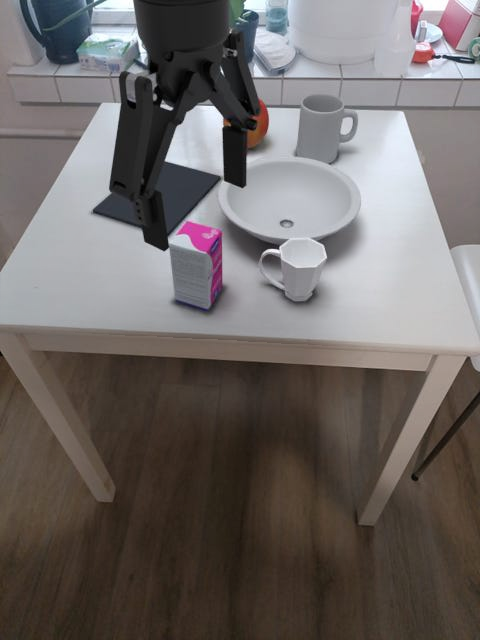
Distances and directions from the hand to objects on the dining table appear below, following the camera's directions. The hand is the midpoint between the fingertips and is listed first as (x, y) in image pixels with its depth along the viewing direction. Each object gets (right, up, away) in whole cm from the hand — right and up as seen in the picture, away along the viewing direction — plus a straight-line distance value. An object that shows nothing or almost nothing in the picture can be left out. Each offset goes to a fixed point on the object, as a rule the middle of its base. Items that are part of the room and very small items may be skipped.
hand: (198, 212), depth 53 cm
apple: (+6, +26, +52) cm, 59 cm away
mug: (+22, +23, +50) cm, 59 cm away
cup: (+12, -7, +23) cm, 27 cm away
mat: (-11, +12, +40) cm, 43 cm away
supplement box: (-2, -8, +22) cm, 24 cm away
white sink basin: (+13, +5, +34) cm, 36 cm away
